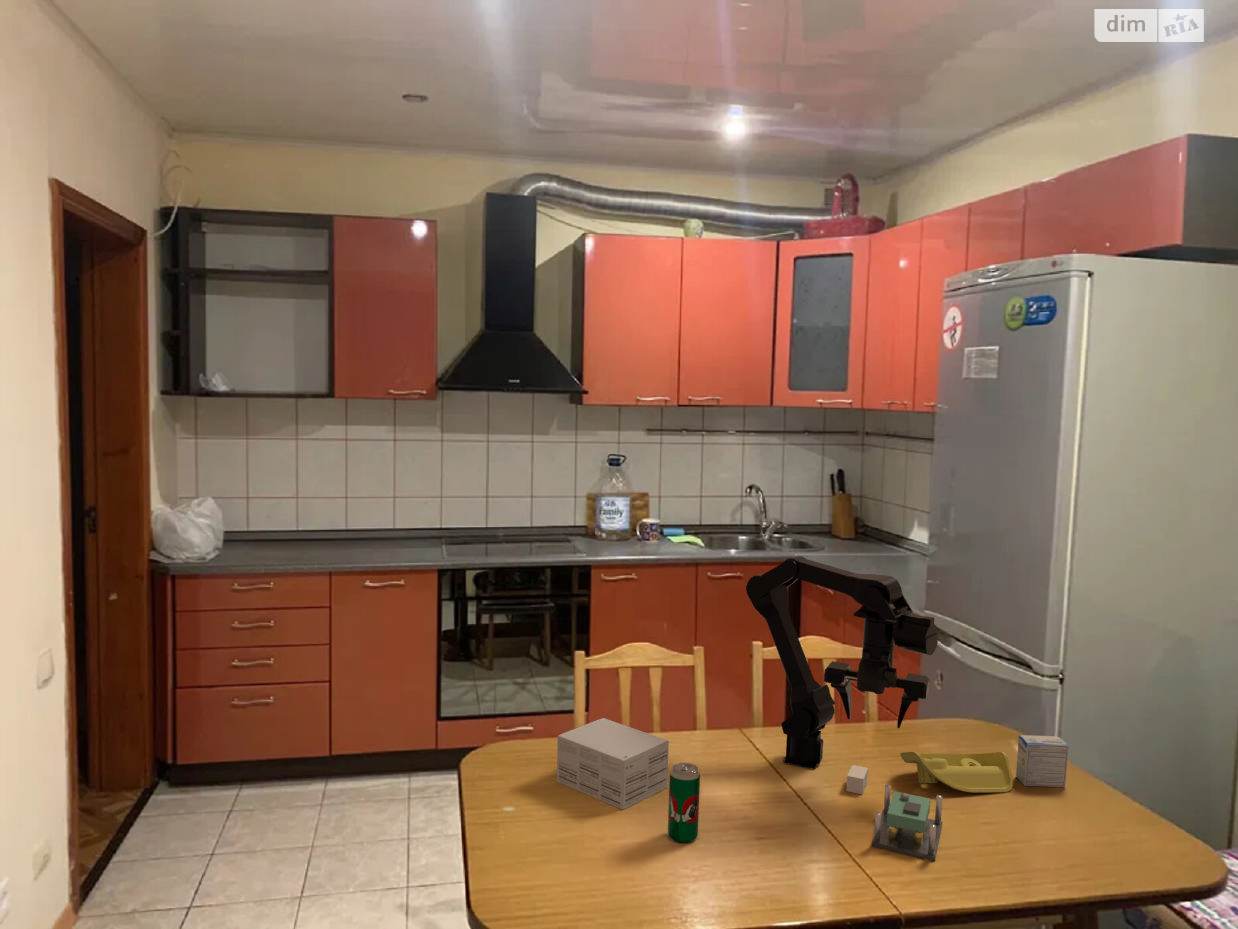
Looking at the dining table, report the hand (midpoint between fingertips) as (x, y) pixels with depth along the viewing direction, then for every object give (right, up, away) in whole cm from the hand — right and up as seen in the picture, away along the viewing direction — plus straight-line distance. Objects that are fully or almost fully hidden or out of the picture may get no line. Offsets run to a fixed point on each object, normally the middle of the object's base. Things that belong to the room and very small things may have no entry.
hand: (873, 723), depth 173 cm
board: (+1, -11, -19) cm, 22 cm away
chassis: (+1, -14, -19) cm, 23 cm away
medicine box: (+33, -13, +4) cm, 36 cm away
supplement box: (-50, -11, -2) cm, 51 cm away
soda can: (-38, -13, -21) cm, 45 cm away
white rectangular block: (-3, -12, -1) cm, 12 cm away
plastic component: (+16, -13, +4) cm, 21 cm away
